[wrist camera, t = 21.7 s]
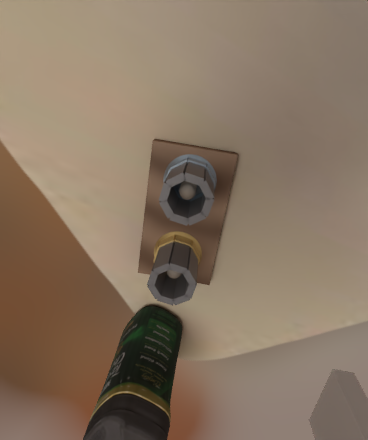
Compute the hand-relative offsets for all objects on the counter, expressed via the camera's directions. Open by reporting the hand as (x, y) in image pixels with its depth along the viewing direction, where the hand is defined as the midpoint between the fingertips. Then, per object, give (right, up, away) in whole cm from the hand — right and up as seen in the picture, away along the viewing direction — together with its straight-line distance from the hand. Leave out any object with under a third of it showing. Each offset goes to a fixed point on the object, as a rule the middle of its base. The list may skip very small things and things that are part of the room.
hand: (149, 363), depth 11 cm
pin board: (+1, +6, +28) cm, 29 cm away
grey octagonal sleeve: (+2, +10, +25) cm, 27 cm away
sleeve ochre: (0, +1, +29) cm, 29 cm away
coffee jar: (-4, -12, +36) cm, 38 cm away
